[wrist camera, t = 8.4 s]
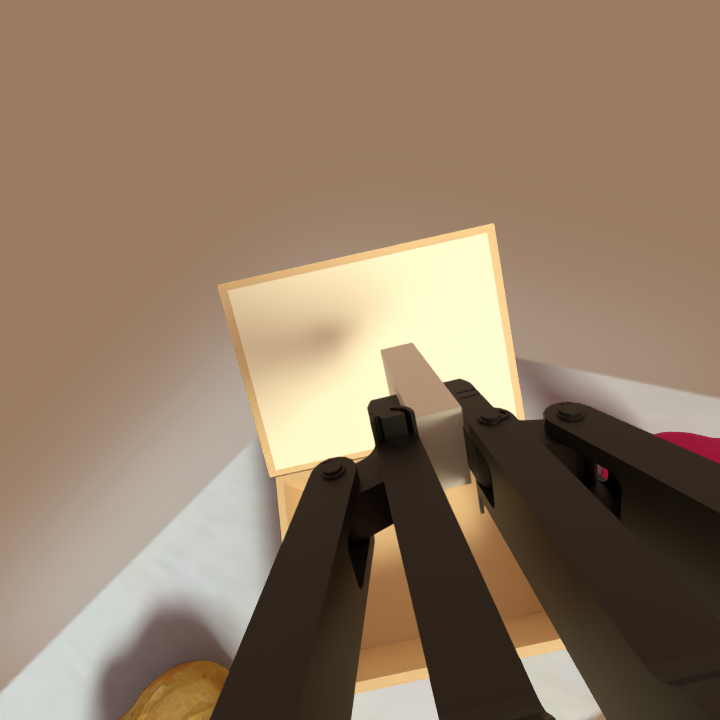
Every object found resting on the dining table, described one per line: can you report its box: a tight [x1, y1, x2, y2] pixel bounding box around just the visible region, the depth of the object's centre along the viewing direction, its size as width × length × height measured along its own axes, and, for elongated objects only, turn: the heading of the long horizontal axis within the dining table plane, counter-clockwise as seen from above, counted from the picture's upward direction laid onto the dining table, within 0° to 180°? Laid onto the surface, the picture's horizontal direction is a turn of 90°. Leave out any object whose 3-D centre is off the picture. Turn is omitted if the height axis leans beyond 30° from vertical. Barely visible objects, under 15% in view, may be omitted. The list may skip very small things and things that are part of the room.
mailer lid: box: [218, 223, 525, 477], centre depth 26 cm, size 19×14×1 cm
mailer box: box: [276, 458, 566, 694], centre depth 28 cm, size 18×13×7 cm
